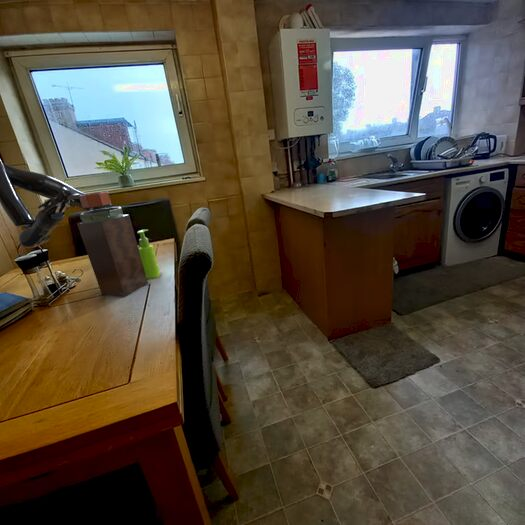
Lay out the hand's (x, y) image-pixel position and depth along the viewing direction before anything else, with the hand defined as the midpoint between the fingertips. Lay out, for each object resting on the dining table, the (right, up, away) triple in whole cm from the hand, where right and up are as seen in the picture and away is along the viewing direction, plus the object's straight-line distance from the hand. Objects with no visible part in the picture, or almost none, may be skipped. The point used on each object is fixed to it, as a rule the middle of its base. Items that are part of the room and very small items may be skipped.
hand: (67, 193), depth 102 cm
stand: (+17, -36, +8) cm, 41 cm away
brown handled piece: (+7, -5, -1) cm, 9 cm away
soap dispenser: (+25, -31, +18) cm, 44 cm away
